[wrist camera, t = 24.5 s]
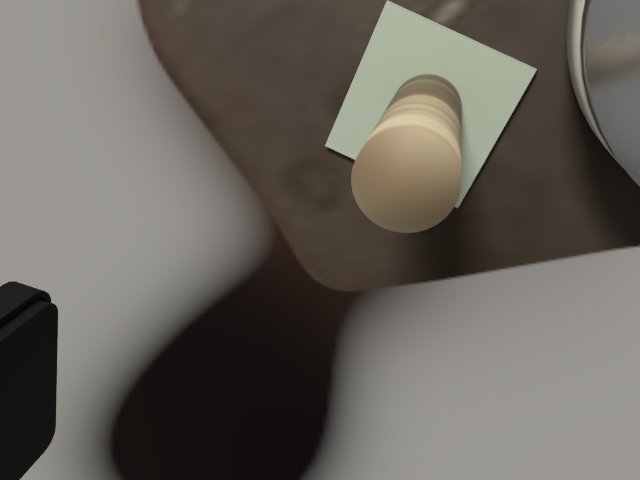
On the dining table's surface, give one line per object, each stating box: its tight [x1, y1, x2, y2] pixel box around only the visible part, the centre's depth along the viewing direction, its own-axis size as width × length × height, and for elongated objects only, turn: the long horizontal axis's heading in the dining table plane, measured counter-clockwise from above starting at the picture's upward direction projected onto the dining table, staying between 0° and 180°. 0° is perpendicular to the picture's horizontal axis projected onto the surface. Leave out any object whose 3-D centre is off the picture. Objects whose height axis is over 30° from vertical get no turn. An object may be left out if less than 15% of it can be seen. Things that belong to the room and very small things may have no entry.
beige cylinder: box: [351, 74, 462, 233], centre depth 28 cm, size 4×4×14 cm
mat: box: [325, 0, 537, 208], centre depth 34 cm, size 9×9×1 cm
